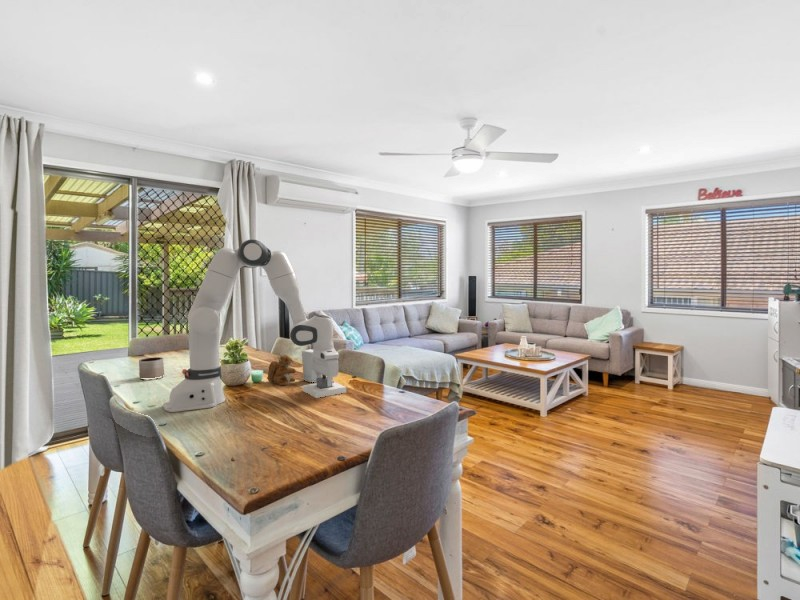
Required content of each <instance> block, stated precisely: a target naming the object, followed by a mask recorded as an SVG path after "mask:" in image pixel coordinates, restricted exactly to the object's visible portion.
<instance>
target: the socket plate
mask: <svg viewBox="0 0 800 600" xmlns="http://www.w3.org/2000/svg"><path fill="white" fill-rule="evenodd" d="M302 392H304V393H306V394H307V393H308V394H307V395H309V394H310V396H312V397H313V398H315V399H320V397H321V398H326V397H331V396H336V395H335V394H337V395H340V394H341V393H342V394H346V393H347V387H346V386H344V385H342V384H340V383H338V382H336V381H335V380H332V387H329V388H324V389H319V388H317V382H314V383H310V384H304V385H302ZM342 394H341V395H342ZM330 395H331V396H330ZM325 396H326V397H325Z"/></svg>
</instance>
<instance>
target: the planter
mask: <svg viewBox="0 0 800 600" xmlns="http://www.w3.org/2000/svg"><path fill="white" fill-rule="evenodd" d="M164 365H165V363H164V357H161V356H160V357H157V356H156V357H154V356H153V357H146V358H141V359H139V360H138V371H139V372H138V373H139V374H138V376H139V379H140V378H155V377H160V376H163V375H164V376H165V366H164Z"/></svg>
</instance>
